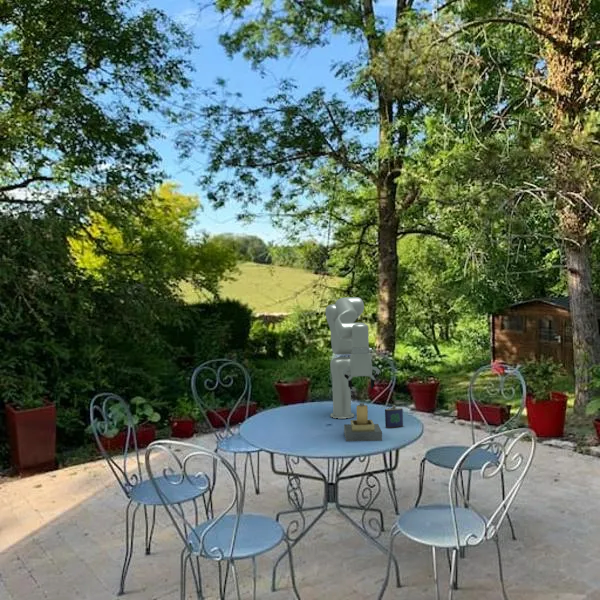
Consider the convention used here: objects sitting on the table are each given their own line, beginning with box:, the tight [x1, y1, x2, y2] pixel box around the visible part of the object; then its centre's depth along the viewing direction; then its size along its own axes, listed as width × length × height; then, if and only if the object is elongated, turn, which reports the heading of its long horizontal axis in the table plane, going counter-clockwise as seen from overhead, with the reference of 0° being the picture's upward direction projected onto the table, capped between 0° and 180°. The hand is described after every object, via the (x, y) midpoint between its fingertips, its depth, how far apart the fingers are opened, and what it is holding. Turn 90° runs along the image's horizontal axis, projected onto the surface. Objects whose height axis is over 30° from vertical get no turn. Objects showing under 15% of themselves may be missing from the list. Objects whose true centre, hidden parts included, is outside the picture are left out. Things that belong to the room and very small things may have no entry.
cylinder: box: [356, 402, 369, 425], centre depth 243 cm, size 5×5×11 cm
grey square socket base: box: [343, 419, 383, 442], centre depth 243 cm, size 14×16×6 cm
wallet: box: [384, 404, 404, 429], centre depth 258 cm, size 9×3×11 cm, turn 105°
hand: (361, 388), depth 243 cm, fingers open, 9 cm apart
